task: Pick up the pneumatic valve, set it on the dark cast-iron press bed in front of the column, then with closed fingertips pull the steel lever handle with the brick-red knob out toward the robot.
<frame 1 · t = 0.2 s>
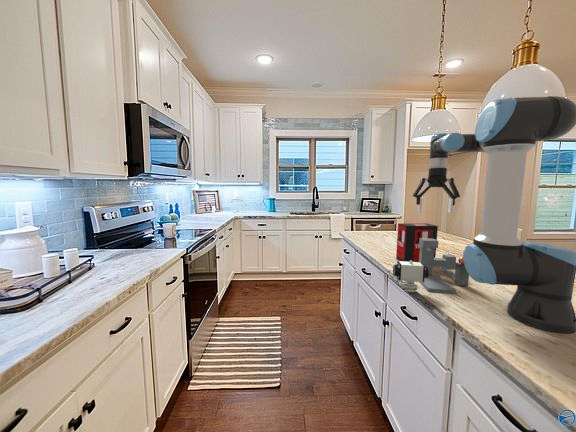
hand: (434, 211, 124), 28 cm above the worktop, fingers open, 13 cm apart
cleaning product box: (414, 261, 138), on the worktop
lever: (453, 264, 112), point 6 cm above the worktop, slide at 0.0 cm
pneumatic valve: (408, 290, 99), on the worktop
press: (433, 284, 105), on the worktop
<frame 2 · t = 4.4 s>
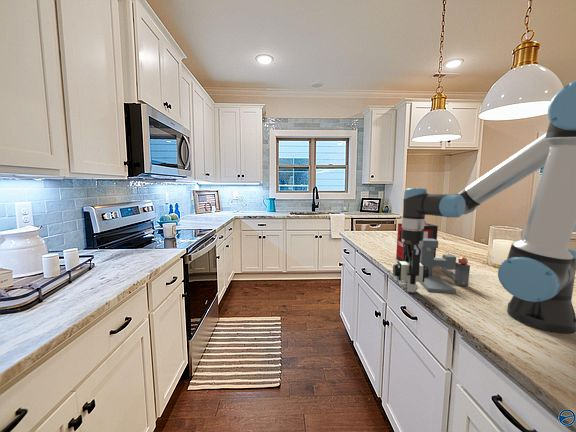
hand: (408, 288, 99), 1 cm above the worktop, fingers closed on pneumatic valve, 5 cm apart
pneumatic valve: (408, 290, 99), on the worktop, touching gripper
everything else where it was.
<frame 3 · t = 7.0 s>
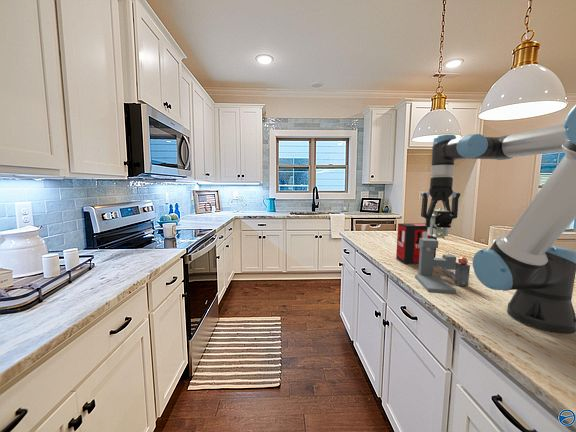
hand: (437, 235, 102), 21 cm above the worktop, fingers closed on pneumatic valve, 5 cm apart
pneumatic valve: (437, 237, 102), point 20 cm above the worktop, touching gripper
everything else where it was.
when the fingers open (3 cm above the worktop, at t = 10.0 s): pneumatic valve drops 1 cm, resting on press.
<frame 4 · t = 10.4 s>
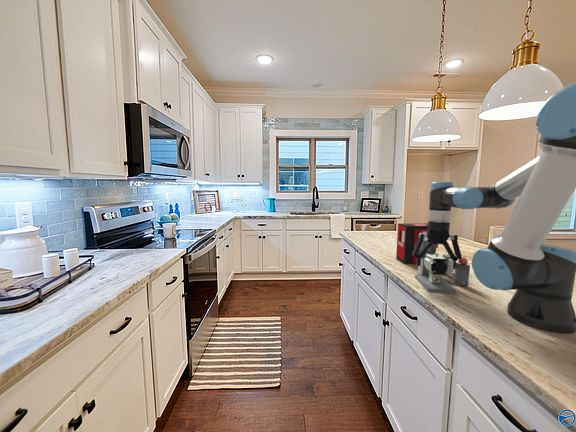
hand: (434, 274, 104), 4 cm above the worktop, fingers open, 10 cm apart
pneumatic valve: (433, 282, 105), point 1 cm above the worktop, touching press
everything else where it was.
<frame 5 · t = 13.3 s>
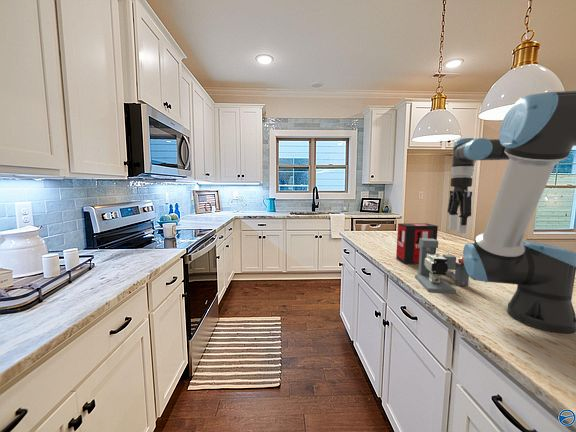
hand: (456, 231, 109), 21 cm above the worktop, fingers open, 8 cm apart
nothing on the worktop moved.
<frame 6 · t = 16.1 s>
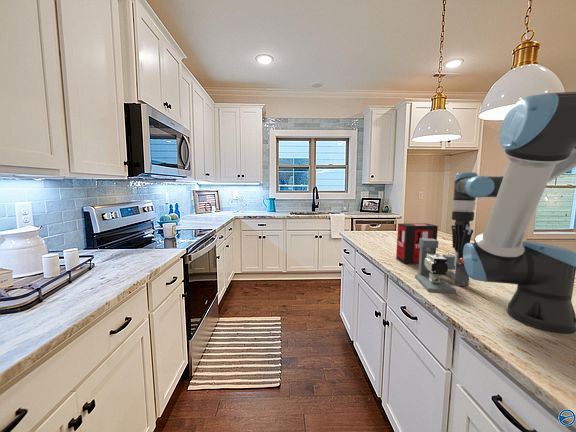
hand: (458, 266, 107), 7 cm above the worktop, fingers closed
lever: (453, 265, 112), point 6 cm above the worktop, slide at 0.2 cm, touching gripper
everything else where it was.
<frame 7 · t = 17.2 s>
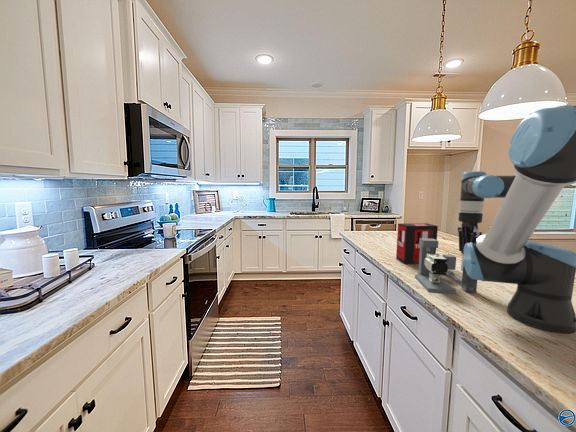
hand: (465, 270, 102), 7 cm above the worktop, fingers closed
lever: (459, 269, 106), point 6 cm above the worktop, slide at 5.9 cm, touching gripper
everything else where it was.
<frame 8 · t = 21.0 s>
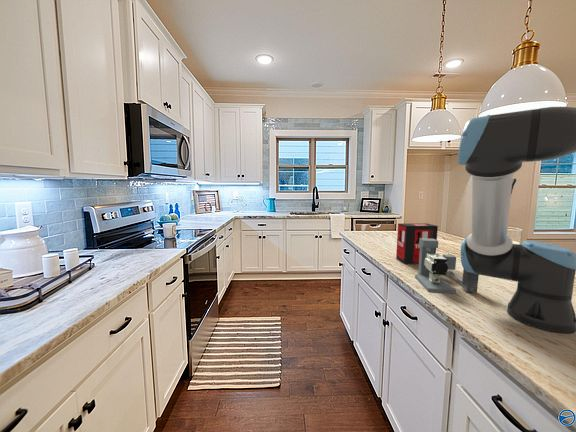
hand: (497, 221, 102), 26 cm above the worktop, fingers closed
lever: (460, 269, 106), point 6 cm above the worktop, slide at 6.4 cm
everything else where it was.
at the end: pneumatic valve inside the target area on the press (0.4 cm from its centre), point 1.0 cm above the press's base; lever slide at 6.4 cm; the gripper is holding nothing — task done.
